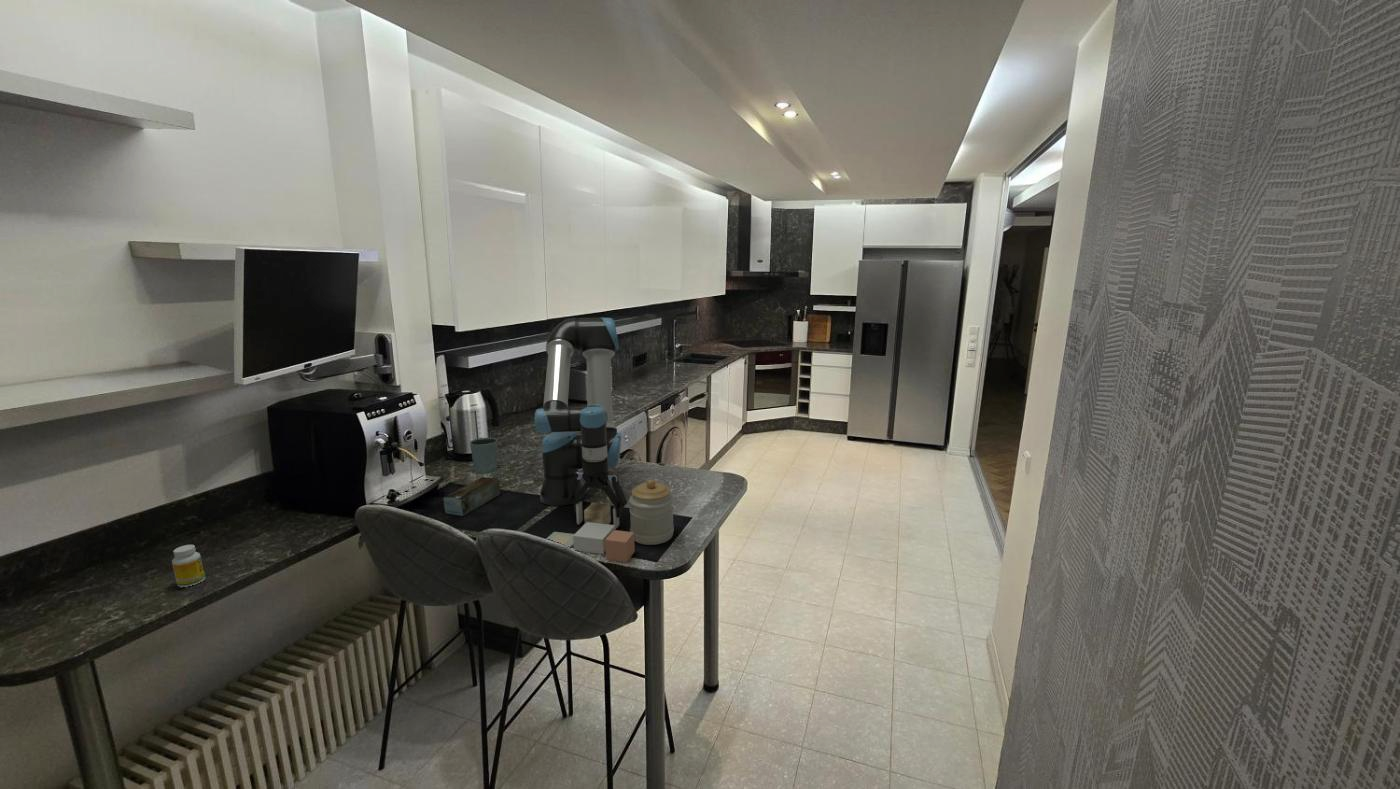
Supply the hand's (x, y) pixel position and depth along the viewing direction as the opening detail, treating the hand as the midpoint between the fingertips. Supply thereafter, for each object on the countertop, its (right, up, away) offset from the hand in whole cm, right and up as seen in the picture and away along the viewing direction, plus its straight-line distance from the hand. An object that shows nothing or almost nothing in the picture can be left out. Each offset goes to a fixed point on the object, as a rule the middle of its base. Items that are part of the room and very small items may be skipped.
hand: (598, 524), depth 172 cm
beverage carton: (-45, +3, +16) cm, 48 cm away
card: (-9, -3, -11) cm, 14 cm away
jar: (+17, -2, -7) cm, 19 cm away
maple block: (0, 0, 0) cm, 0 cm away
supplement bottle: (-98, -8, -31) cm, 103 cm away
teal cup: (-54, +10, +48) cm, 73 cm away
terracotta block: (+10, -4, -18) cm, 21 cm away
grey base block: (+1, -3, -12) cm, 13 cm away
